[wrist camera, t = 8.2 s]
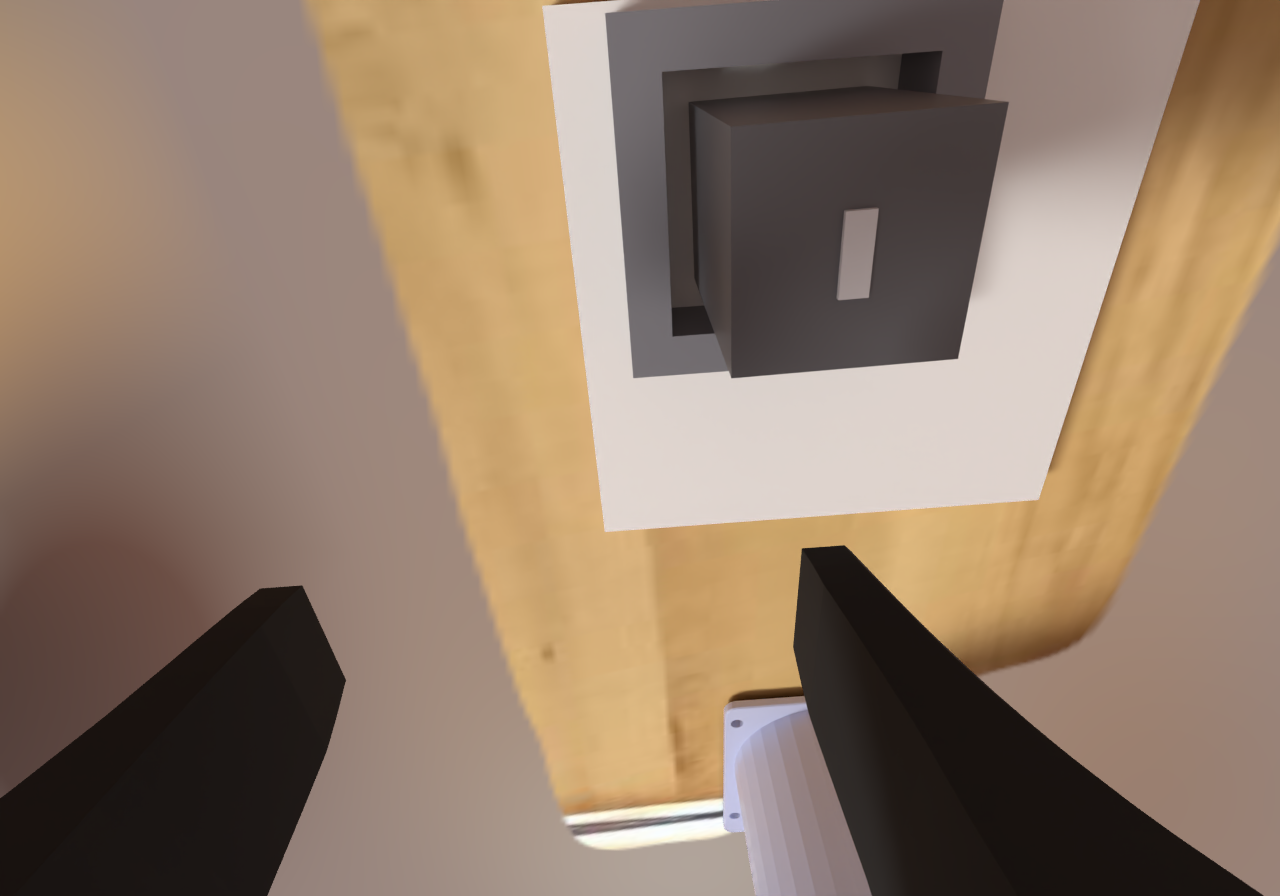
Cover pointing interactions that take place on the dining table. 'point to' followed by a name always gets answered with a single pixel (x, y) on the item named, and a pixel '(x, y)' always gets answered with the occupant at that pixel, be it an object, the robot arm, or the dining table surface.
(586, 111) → the outlet plate
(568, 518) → the dining table surface
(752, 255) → the block
